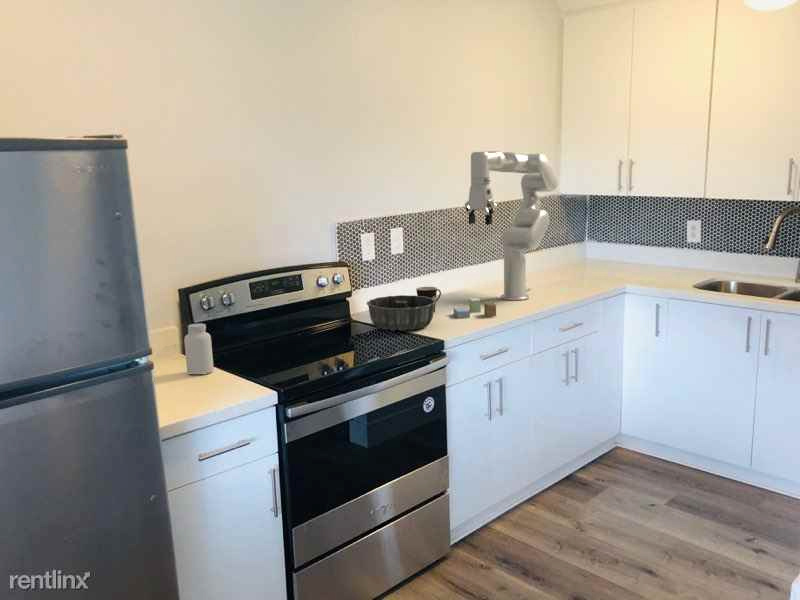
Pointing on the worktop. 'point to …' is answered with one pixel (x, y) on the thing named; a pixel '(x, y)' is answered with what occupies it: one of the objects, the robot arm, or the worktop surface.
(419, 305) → the bundt pan
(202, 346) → the pill bottle
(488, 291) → the worktop surface
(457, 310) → the slate block
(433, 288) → the coffee mug
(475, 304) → the sage block
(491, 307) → the walnut block
